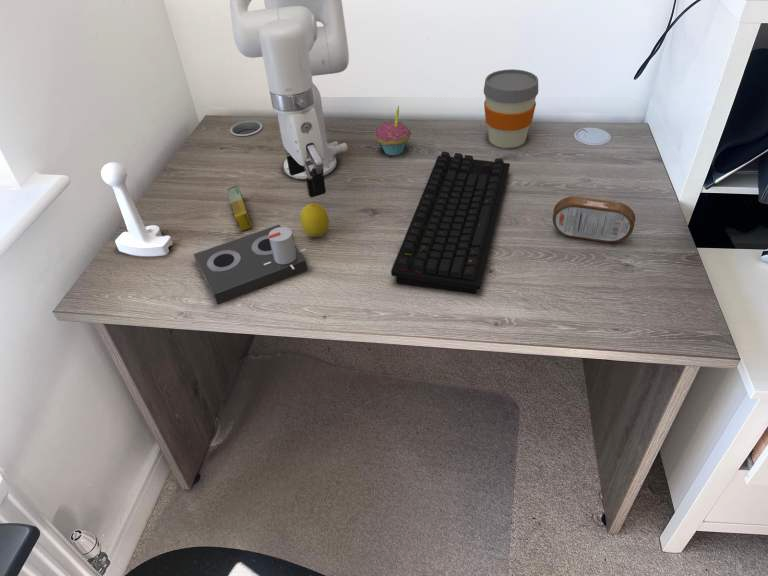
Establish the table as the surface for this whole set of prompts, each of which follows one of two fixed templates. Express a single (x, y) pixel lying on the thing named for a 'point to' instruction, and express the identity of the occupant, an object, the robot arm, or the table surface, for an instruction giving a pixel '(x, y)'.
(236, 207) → the medication box
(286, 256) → the hob knob
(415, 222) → the keyboard
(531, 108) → the reusable coffee cup
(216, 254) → the burners
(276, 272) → the hob
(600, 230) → the tin
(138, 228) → the joystick
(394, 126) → the cupcake
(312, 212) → the lemon
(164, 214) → the table surface
